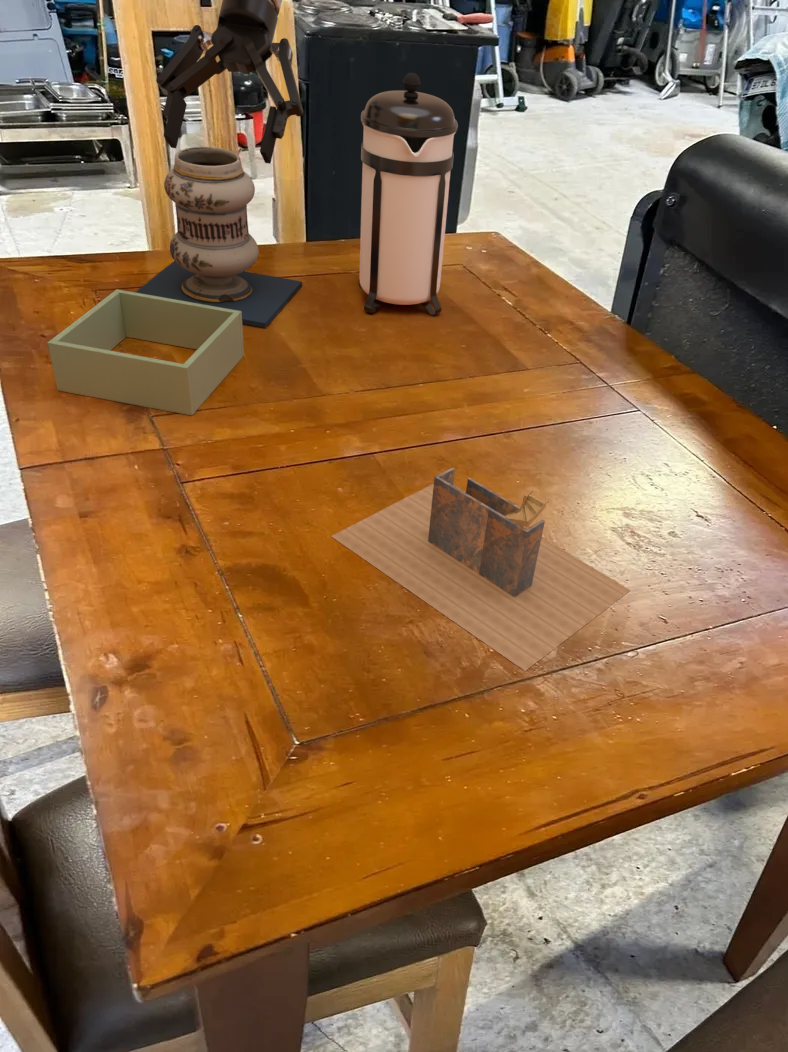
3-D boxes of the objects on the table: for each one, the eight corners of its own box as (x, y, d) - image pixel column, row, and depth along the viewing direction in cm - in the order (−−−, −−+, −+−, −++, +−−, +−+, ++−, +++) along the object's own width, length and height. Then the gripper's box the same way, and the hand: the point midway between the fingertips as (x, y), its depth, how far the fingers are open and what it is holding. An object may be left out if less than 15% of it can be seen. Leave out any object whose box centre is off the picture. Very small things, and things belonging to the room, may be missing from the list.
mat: (127, 304, 123) (126, 298, 123) (176, 264, 135) (175, 259, 135) (265, 328, 121) (265, 322, 121) (302, 286, 134) (302, 281, 133)
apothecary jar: (192, 311, 121) (178, 171, 110) (162, 279, 129) (146, 144, 117) (274, 299, 127) (269, 165, 115) (241, 269, 134) (233, 139, 122)
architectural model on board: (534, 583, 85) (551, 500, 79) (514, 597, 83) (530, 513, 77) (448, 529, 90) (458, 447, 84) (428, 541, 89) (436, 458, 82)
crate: (57, 390, 104) (46, 342, 100) (123, 333, 116) (116, 288, 112) (192, 415, 102) (187, 368, 98) (244, 355, 115) (241, 311, 111)
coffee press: (472, 303, 135) (498, 79, 115) (401, 330, 125) (416, 91, 106) (390, 267, 143) (401, 52, 123) (316, 290, 133) (316, 61, 113)
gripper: (343, 38, 125) (311, 179, 123) (175, 13, 127) (142, 152, 125) (333, -3, 117) (298, 147, 116) (155, -29, 119) (118, 118, 118)
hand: (217, 150), depth 121 cm, fingers open, 13 cm apart
